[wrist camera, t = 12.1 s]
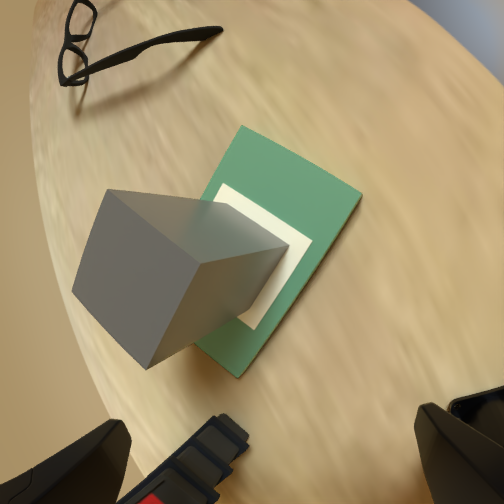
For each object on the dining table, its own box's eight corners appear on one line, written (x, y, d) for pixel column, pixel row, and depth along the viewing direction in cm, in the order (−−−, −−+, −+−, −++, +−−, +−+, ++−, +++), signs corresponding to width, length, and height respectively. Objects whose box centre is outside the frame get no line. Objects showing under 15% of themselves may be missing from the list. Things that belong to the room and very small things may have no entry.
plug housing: (226, 203, 21) (107, 189, 11) (289, 245, 20) (200, 263, 10) (192, 265, 22) (71, 291, 13) (249, 309, 21) (145, 370, 11)
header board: (362, 195, 19) (358, 185, 15) (244, 371, 23) (214, 401, 19) (248, 129, 21) (216, 108, 17) (157, 300, 25) (116, 313, 21)
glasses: (98, 7, 29) (71, -7, 24) (215, -61, 21) (191, -86, 17) (86, 110, 29) (50, 101, 25) (227, 41, 22) (193, 11, 17)
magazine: (147, 475, 27) (71, 537, 12) (228, 399, 28) (182, 447, 14) (173, 498, 26) (111, 572, 11) (257, 424, 27) (236, 491, 13)
